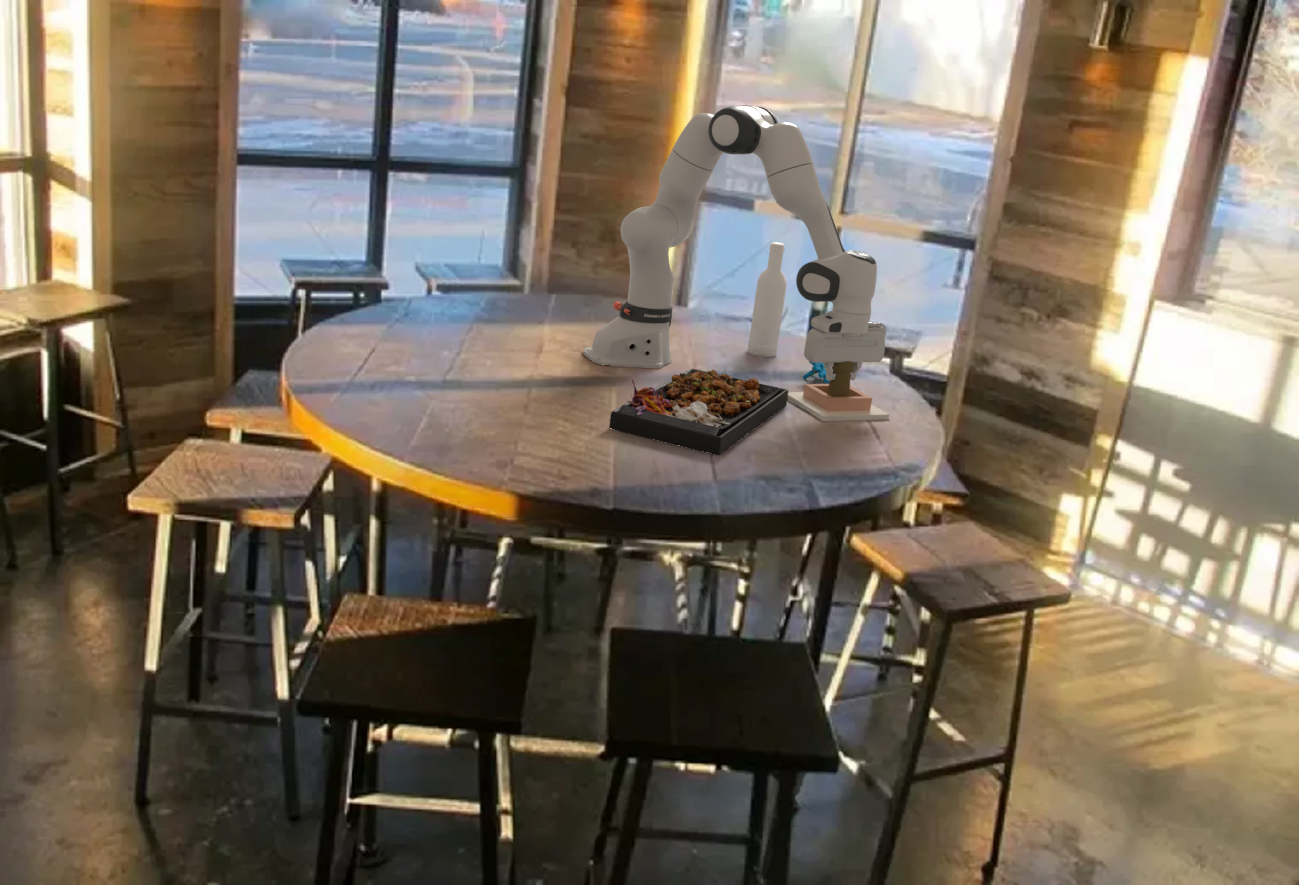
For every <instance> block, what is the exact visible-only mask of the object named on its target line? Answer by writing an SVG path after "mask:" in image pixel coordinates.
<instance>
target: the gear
mask: <svg viewBox="0 0 1299 885" xmlns="http://www.w3.org/2000/svg"><path fill="white" fill-rule="evenodd" d="M808 363H809V364H810V365H811V366H812V368H811V369H810V370H809V371H808V372H806V373H805V374H804V375H802V378H803V379H804V380H806V379H808V378H809V377H813V376H814V375H815V374H817V376H818V377H819V379H822V378H823V379H822V381H823V382H824V384H829V382H830V381H828V380H827V379H826V373H827V372H826V370H825V367H824V363H812V362H810V361H808Z"/></svg>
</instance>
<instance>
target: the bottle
mask: <svg viewBox="0 0 1299 885" xmlns="http://www.w3.org/2000/svg"><path fill="white" fill-rule="evenodd" d="M784 252H785V244H784V243H783V242H777V241H774V242H771V243H770V246H769V252H768V261H767V266H766V267H767V268H766V269H764V270H763V271H762V272H761V273H760V275H759V277H758V279H757V283H756V289H755V297H754V302H753V303H754V304H753V312H752V317H751V318H752V319H751V325H750V334H749V338H748V339H749V340H748V343H747V344H748V346H747V352H748V353H749V354H750V355H753V356H757V357H761V358H762V357H763V358H773V357H776V356H777V353H778V347H779V340H780V339H779V337H780V333H781V332H780V331H781V325H782V320H783V313H784V312H783V311H784V306H785V304H784V303H785V298H786V292H787V285H788V284H787V277H786V275H785V274H784V273H783V271H782V265H783V257H784Z"/></svg>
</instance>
